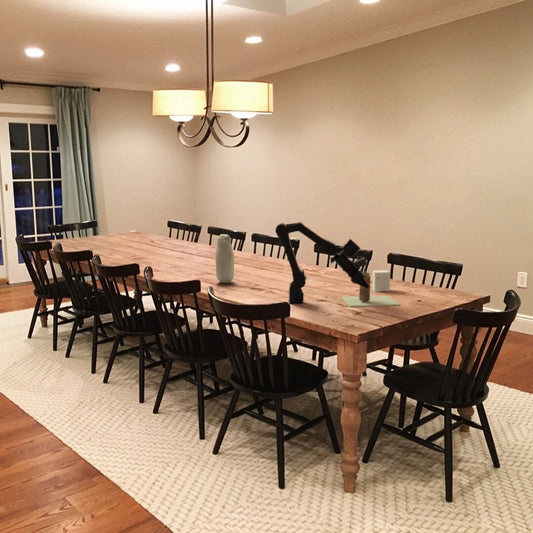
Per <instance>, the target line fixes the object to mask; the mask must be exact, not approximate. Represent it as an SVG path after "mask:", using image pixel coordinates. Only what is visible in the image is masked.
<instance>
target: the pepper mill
mask: <svg viewBox="0 0 533 533" xmlns="http://www.w3.org/2000/svg"><path fill="white" fill-rule="evenodd" d="M367 271H368V270H364V272H363V271H362V273H363V274H364V275H363V278H364V280H365V281H366V283H367V284H368V286H369V287H368V288H366V287H363V286H361V285H359V291H358V294H359V300H361V301H369V300H370V296H371V275H370V274H371V273H370V272H367Z"/></svg>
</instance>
